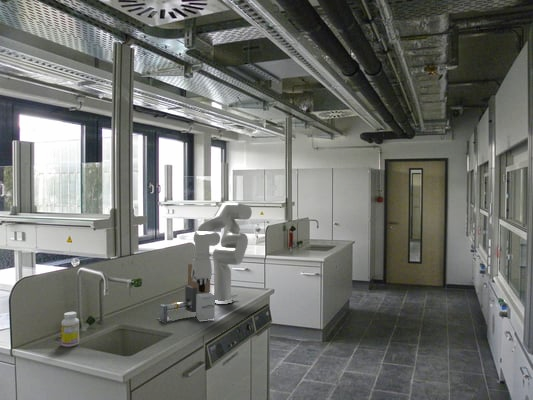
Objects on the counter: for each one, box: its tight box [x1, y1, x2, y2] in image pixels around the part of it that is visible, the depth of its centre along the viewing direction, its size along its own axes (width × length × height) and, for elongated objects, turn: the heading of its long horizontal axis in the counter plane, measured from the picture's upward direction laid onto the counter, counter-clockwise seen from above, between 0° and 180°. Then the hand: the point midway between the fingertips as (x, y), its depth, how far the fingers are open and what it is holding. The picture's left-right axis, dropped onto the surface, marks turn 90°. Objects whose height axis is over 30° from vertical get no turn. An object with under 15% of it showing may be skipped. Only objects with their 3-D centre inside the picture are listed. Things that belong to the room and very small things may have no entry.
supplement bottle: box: [60, 311, 80, 348], centre depth 179 cm, size 7×7×13 cm
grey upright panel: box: [184, 285, 197, 312], centre depth 224 cm, size 2×7×12 cm, turn 41°
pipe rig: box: [156, 300, 192, 323], centre depth 220 cm, size 22×8×8 cm, turn 131°
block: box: [187, 262, 211, 294], centre depth 267 cm, size 10×10×20 cm
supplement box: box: [195, 292, 216, 320], centre depth 216 cm, size 7×7×13 cm
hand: (201, 291), depth 228 cm, fingers closed
